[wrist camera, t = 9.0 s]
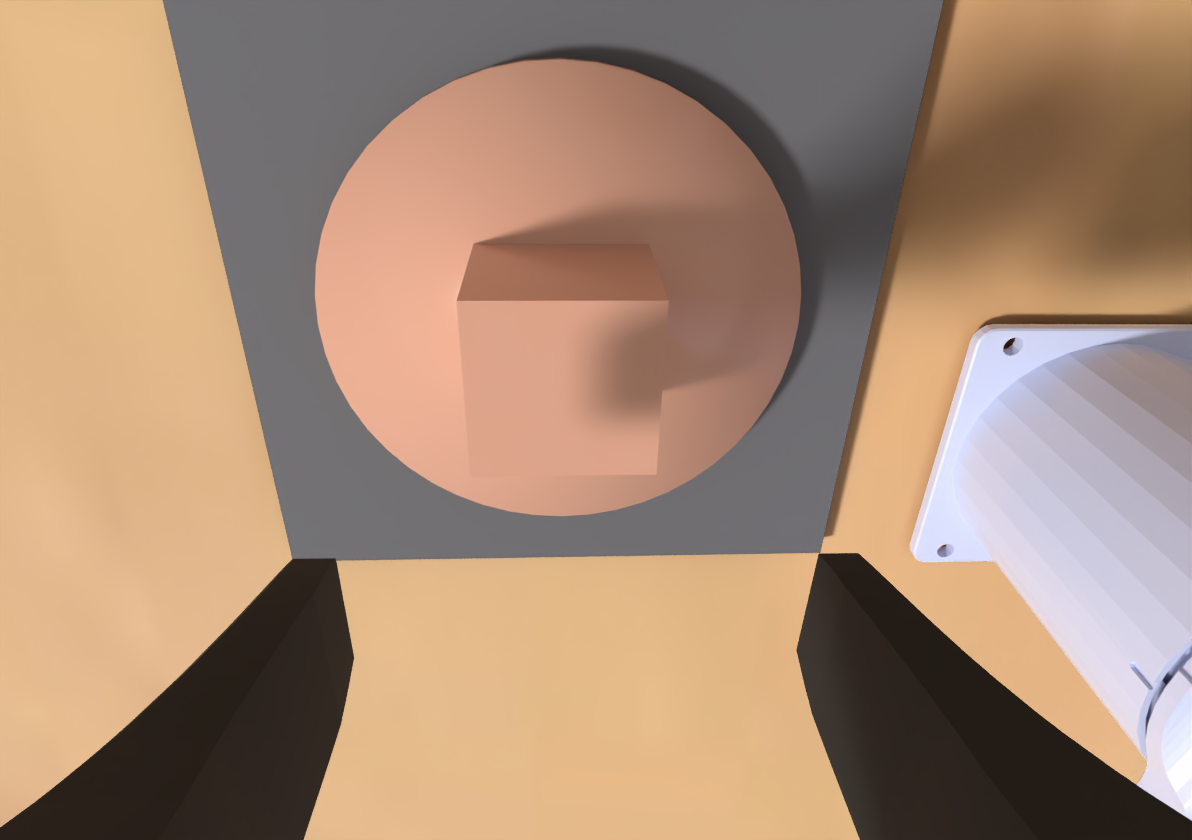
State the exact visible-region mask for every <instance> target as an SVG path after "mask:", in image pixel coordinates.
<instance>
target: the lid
mask: <svg viewBox="0 0 1192 840" xmlns="http://www.w3.org/2000/svg"><path fill="white" fill-rule="evenodd" d="M315 302H316V311H317V320H318V327H319V331H320V335H321V339H322V343H323V347H324V351H325V354H326V357H327V359H328V362H329V364H330V367H331V369H332V372H333V374H334V377H335V379H336V382H337V383H338V385H339V387H340V389H341V390H342V392H343V394H344V396H345V398H346V399H347V401H348V403H349V405H350V406H351V408H352V409H353V410H354V412H355V413H356V414H357V416H358V417H359V418H360V420H361V421H362V423H363V424H364V425H365V427H366V428H367V429H368V430H369V431H370V432H371V433H372V434H373V436H374V437H375V438H376V439H377V440H378V441H379V442H380V443H381V444H382V445H383V446H384V447H385V448H386V449H387V450H388V451H389V452H390V453H392V454H393V455H394V456H395V457H396V458H398V459H399V460H400V461H401V462H403V463H404V464H405V465H406V466H407V467H409V468H410V469H412V470H413V471H415V472H416V473H418V474H419V475H421V476H422V477H424V478H426V479H427V480H429V481H430V482H432V483H434V484H436V485H438V486H440V487H442V488H444V489H446V490H448V491H450V492H452V493H454V494H456V495H458V496H461V497H463V498H466V499H469V500H471V501H474V502H477V503H479V504H482V505H486V506H490V507H494V508H498V509H502V510H506V511H510V512H517V513H524V514H531V515H545V516H573V515H588V514H595V513H601V512H607V511H612V510H617V509H621V508H625V507H628V506H632V505H635V504H639V503H642V502H645V501H647V500H650V499H652V498H655V497H657V496H660V495H662V494H665V493H667V492H669V491H671V490H673V489H675V488H676V487H678V486H680V485H682V484H684V483H686V482H688V481H690V480H691V479H693V478H694V477H696V476H697V475H699V474H700V473H702V472H703V471H704V470H706V469H707V468H709V467H710V466H712V465H713V464H714V463H716V462H717V461H718V460H719V459H720V458H721V457H722V456H724V455H725V454H726V453H727V452H728V451H729V450H730V449H732V448H733V447H734V446H735V445H736V444H737V443H738V441H739V440H740V439H741V438H742V437H743V436H744V435H745V434H746V433H747V432H748V430H749V429H750V428H751V427H752V426H753V425H754V423H755V422H756V420H757V419H758V418H759V416H760V415H761V413H762V412H763V411H764V409H765V408H766V406H767V405H768V403H769V402H770V400H771V398H772V396H773V394H774V392H775V390H776V389H777V387H778V385H779V383H780V381H781V379H782V377H783V374H784V372H785V369H786V366H787V364H788V361H789V358H790V356H791V353H792V349H793V345H794V341H795V337H796V332H797V328H798V323H799V313H800V303H801V278H800V263H799V258H798V252H797V247H796V241H795V236H794V233H793V230H792V227H791V224H790V221H789V218H788V215H787V212H786V209H785V206H784V204H783V202H782V200H781V198H780V196H779V194H778V192H777V190H776V188H775V186H774V184H773V182H772V180H771V178H770V177H769V175H768V174H767V172H766V171H765V170H764V168H763V167H762V165H761V164H760V162H759V161H758V160H757V158H756V157H755V155H754V154H753V153H752V151H751V150H750V149H749V148H748V147H747V146H746V144H745V143H744V142H743V141H742V140H741V139H740V138H739V137H738V136H737V135H736V134H735V133H734V132H733V131H732V130H731V129H730V128H729V127H728V126H727V125H726V124H725V123H724V122H723V121H722V120H721V119H719V118H718V117H717V116H716V115H714V114H713V113H712V112H711V111H709V110H708V109H707V108H705V107H704V106H703V105H702V104H700V103H699V102H698V101H696V100H695V99H694V98H692V97H691V96H689V95H687V94H685V93H684V92H682V91H680V90H678V89H677V88H675V87H673V86H671V85H670V84H668V83H666V82H664V81H662V80H660V79H657V78H655V77H652V76H650V75H647V74H645V73H642V72H640V71H637V70H635V69H632V68H629V67H625V66H620V65H616V64H612V63H608V62H603V61H599V60H593V59H581V58H570V57H546V58H528V59H521V60H516V61H511V62H506V63H501V64H496V65H491V66H488V67H485V68H482V69H480V70H477V71H474V72H471V73H469V74H466V75H463V76H460V77H458V78H455V79H454V80H452V81H450V82H448V83H446V84H444V85H442V86H441V87H439V88H437V89H435V90H433V91H431V92H429V93H428V94H426V95H424V96H423V97H422V98H420V99H419V100H418V101H416V102H415V103H414V104H412V105H411V106H410V107H408V108H407V109H406V110H404V111H403V112H402V113H400V114H399V115H398V116H397V117H396V118H395V119H393V120H392V121H391V122H390V123H389V124H388V125H387V126H386V127H385V128H384V129H383V130H382V131H381V132H380V133H379V134H378V135H377V136H376V137H375V139H374V140H373V141H372V142H371V143H370V144H369V145H368V146H367V147H366V148H365V150H364V151H363V152H362V154H361V155H360V156H359V158H358V159H357V161H356V162H355V163H354V165H353V166H352V168H351V169H350V170H349V172H348V173H347V175H346V177H345V179H344V181H343V182H342V184H341V186H340V188H339V190H338V192H337V194H336V196H335V198H334V200H333V202H332V204H331V207H330V210H329V213H328V216H327V219H326V222H325V225H324V228H323V231H322V234H321V239H320V245H319V250H318V256H317V261H316V275H315Z"/></svg>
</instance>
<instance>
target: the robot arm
mask: <svg viewBox="0 0 1192 840" xmlns="http://www.w3.org/2000/svg"><path fill="white" fill-rule="evenodd" d="M1011 338H1015V341H1014V343H1013V344H1012V345H1011V346H1010V347H1009V348H1007V349H1003V346H1004V345H1005V343H1006V342H1007V341H1008V340H1010V339H1011ZM945 544H947V545H946V546H945V547H943V548H940V549H939V547H941V546H942V545H945ZM910 550H911V552H912V554H913V555H914V557H915V558H916V559H917V560H919V561H921V562H964V561H995V563H996V564H997V565H998V566H999V568H1000V569H1001V570H1002V572H1003V573H1004V574H1005V576H1006V577H1007V578H1008V580H1009V581H1010V582H1011V584H1012V585H1013V586H1014V587H1015V589H1016V590H1017V591H1018V593H1019V594H1020V595H1021V597H1022V598H1023V599H1024V601H1025V602H1026V603H1027V605H1028V606H1029V607H1030V609H1031V610H1032V611H1033V612H1034V614H1035V615H1036V616H1037V618H1038V619H1039V620H1040V622H1041V623H1042V624H1043V626H1044V627H1045V628H1046V630H1047V631H1048V632H1049V633H1050V635H1051V636H1052V637H1053V639H1054V640H1055V641H1056V643H1057V644H1058V645H1059V647H1060V648H1061V649H1062V651H1063V652H1064V653H1065V654H1066V656H1067V657H1068V658H1069V660H1070V661H1071V662H1072V664H1073V665H1074V666H1075V668H1076V669H1077V670H1078V672H1079V673H1080V674H1081V676H1082V677H1083V678H1084V679H1085V681H1086V682H1087V683H1088V685H1089V686H1090V687H1091V689H1092V690H1093V691H1094V693H1095V694H1096V695H1097V697H1098V698H1099V699H1100V700H1101V702H1102V703H1103V704H1104V706H1105V707H1106V708H1107V710H1108V711H1109V712H1110V714H1111V715H1112V716H1113V718H1114V719H1115V720H1116V721H1117V723H1118V724H1119V725H1120V727H1121V728H1122V729H1123V731H1124V732H1125V733H1126V735H1127V736H1128V737H1129V739H1130V740H1131V741H1132V742H1133V744H1134V745H1135V746H1136V748H1137V749H1138V750H1139V752H1140V753H1141V754H1142V756H1143V757H1144V758H1145V760H1146V761H1147V767H1146V770H1145V772H1144V774H1143V776H1142V777H1141V779H1140V780H1139V781H1138V783H1137V784H1134V783H1133V782H1131V781H1130V780H1129V779H1127V778H1126V777H1124V776H1123V775H1121V774H1120V773H1118V772H1117V771H1115V770H1114V769H1112V768H1111V767H1110V766H1108V765H1107V764H1106V763H1104V762H1103V761H1101V760H1100V759H1099V758H1097V757H1096V756H1094V755H1093V754H1092V753H1090V752H1089V751H1088V750H1086V749H1085V748H1083V747H1082V746H1081V745H1079V744H1078V743H1076V742H1075V741H1074V740H1072V739H1071V738H1070V737H1068V736H1067V735H1065V734H1064V733H1063V732H1061V731H1060V730H1059V729H1057V728H1056V727H1055V726H1054V725H1052V724H1051V723H1050V722H1048V721H1047V720H1046V719H1044V718H1043V717H1042V716H1041V715H1039V714H1038V713H1037V712H1035V711H1034V710H1033V709H1032V708H1031V707H1029V706H1028V705H1027V704H1026V703H1024V702H1023V701H1022V700H1021V699H1020V698H1018V697H1017V696H1016V695H1015V694H1013V693H1012V692H1011V691H1010V690H1009V689H1007V688H1006V687H1005V686H1004V685H1002V684H1001V683H1000V682H999V681H998V680H996V679H995V678H994V677H993V676H992V675H990V674H989V673H988V672H987V671H986V670H985V669H984V668H982V667H981V666H980V665H979V664H978V663H977V662H975V661H974V660H973V659H972V658H971V657H970V656H969V655H967V654H966V653H965V652H964V651H963V650H962V649H961V648H960V647H958V646H957V645H956V644H955V643H954V642H953V641H952V640H951V639H950V638H948V637H947V636H946V635H945V634H944V633H943V632H942V631H941V630H940V629H939V628H938V627H936V626H935V625H934V624H933V623H932V622H931V621H930V620H929V619H928V618H927V617H926V616H925V615H924V614H922V613H921V612H920V611H919V610H918V609H917V608H916V607H915V606H914V605H913V604H912V603H911V602H910V601H909V600H908V599H907V598H905V597H904V596H903V595H902V594H901V593H900V592H899V591H898V590H897V589H896V588H895V587H894V586H893V585H892V584H891V583H890V582H889V581H888V580H887V579H885V578H884V577H883V576H882V575H881V574H880V573H879V572H878V571H877V570H876V569H875V568H874V567H873V566H872V565H871V564H870V563H868V562H867V561H866V560H865V559H864V558H863V557H862V556H861V555H860V554H858V553H837V554H819V555H818V559H817V564H816V568H815V572H814V577H813V581H812V585H811V590H810V594H809V598H808V603H807V607H806V611H805V616H804V620H803V624H802V629H801V633H800V637H799V642H798V646H797V654H798V658H799V663H800V667H801V671H802V675H803V680H804V684H805V688H806V692H807V696H808V700H809V703H810V707H811V711H812V715H813V717H814V720H815V723H816V726H817V728H818V731H819V734H820V736H821V739H822V742H823V744H824V747H825V750H826V752H827V755H828V758H829V760H830V763H831V766H832V768H833V771H834V773H835V776H836V778H837V781H838V784H839V786H840V789H841V791H842V794H843V797H844V799H845V802H846V804H847V807H848V810H849V812H850V815H851V817H852V820H853V823H854V825H855V828H856V830H857V833H858V836H859V838H860V840H1192V324H991V325H986V326H984V327H982V328H980V329H979V330H978V331H977V332H976V333H975V334H974V335H973V337H972V339H971V341H970V344H969V348H968V351H967V354H966V358H965V361H964V364H963V368H962V371H961V374H960V378H959V381H958V384H957V388H956V391H955V394H954V398H953V401H952V405H951V408H950V411H949V415H948V418H947V421H946V425H945V428H944V431H943V435H942V438H941V441H940V445H939V448H938V451H937V455H936V458H935V461H934V465H933V468H932V472H931V475H930V478H929V482H928V485H927V488H926V492H925V495H924V498H923V502H922V505H921V508H920V512H919V515H918V518H917V522H916V525H915V529H914V532H913V535H912V539H911V542H910ZM353 660H354V655H353V649H352V644H351V639H350V633H349V628H348V622H347V617H346V612H345V606H344V601H343V595H342V590H341V585H340V579H339V574H338V568H337V563H336V558H310V559H292V560H291V561H290V562H289V563H288V564H287V565H286V566H285V567H284V568H283V569H282V570H281V571H280V572H279V573H278V574H277V576H276V577H275V578H274V579H273V580H272V581H271V582H270V583H269V584H268V585H267V586H266V587H265V588H264V590H263V591H262V592H261V593H260V594H259V595H258V596H257V597H256V598H255V599H254V600H253V601H252V602H251V604H250V605H249V606H248V607H247V608H246V609H245V610H244V611H243V612H242V613H241V614H240V615H239V616H238V617H237V618H236V619H235V621H234V622H233V623H232V624H231V625H230V626H229V627H228V628H227V629H226V630H225V631H224V632H223V633H222V634H221V635H220V636H219V637H218V638H217V639H216V640H215V641H214V642H213V643H212V644H211V645H210V646H209V647H208V648H207V649H206V650H205V651H204V652H203V653H202V654H201V655H200V656H199V658H198V659H197V660H196V661H195V662H194V663H193V664H192V665H191V666H190V667H189V668H188V669H187V670H186V671H185V672H184V673H183V674H182V675H181V676H180V677H179V678H177V679H176V680H175V681H174V682H173V683H172V684H171V685H170V686H169V687H168V688H167V689H166V690H165V691H164V692H163V693H162V694H160V695H159V696H158V697H157V698H156V699H155V700H154V701H153V702H152V703H151V704H150V705H149V706H148V707H147V708H145V709H144V710H143V711H142V712H141V713H140V714H139V715H138V716H137V717H136V718H135V719H134V720H133V721H132V722H130V723H129V724H128V725H127V726H126V727H125V728H124V729H123V730H122V731H120V732H119V733H118V734H117V735H116V736H115V737H114V738H112V739H111V740H110V741H109V742H108V743H107V744H106V745H104V746H103V747H102V748H101V749H100V750H99V751H97V752H96V753H95V754H94V755H93V756H92V757H90V758H89V759H88V760H87V761H86V762H84V763H83V764H82V765H81V766H80V767H78V768H77V769H76V770H75V771H73V772H72V773H71V774H70V775H68V776H67V777H66V778H65V779H64V780H62V781H61V782H60V783H59V784H57V785H56V786H55V787H54V788H53V789H51V790H50V791H49V792H47V793H46V794H45V795H44V796H42V797H41V798H40V799H38V800H37V801H36V802H35V803H33V804H32V805H30V806H29V807H28V808H26V809H25V810H24V811H22V812H21V813H20V814H18V815H17V816H15V817H14V818H13V819H11V820H10V821H9V822H7V823H6V824H4V825H3V826H2V827H0V840H303V839H304V836H305V833H306V830H307V827H308V824H309V821H310V818H311V815H312V812H313V809H314V806H315V803H316V800H317V797H318V794H319V791H320V788H321V785H322V782H323V779H324V775H325V772H326V769H327V766H328V763H329V760H330V757H331V754H332V751H333V748H334V744H335V741H336V738H337V735H338V732H339V728H340V725H341V721H342V716H343V712H344V707H345V702H346V697H347V692H348V687H349V682H350V676H351V671H352V666H353Z"/></svg>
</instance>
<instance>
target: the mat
mask: <svg viewBox="0 0 1192 840" xmlns="http://www.w3.org/2000/svg"><path fill="white" fill-rule="evenodd" d="M943 1H944V0H163V3H164V8H165V12H166V16H167V20H168V25H169V29H170V33H171V38H172V42H173V46H174V51H175V55H176V59H177V64H178V68H179V72H180V76H181V81H182V85H183V89H184V94H185V98H186V102H187V107H188V111H189V115H190V120H191V124H192V128H193V132H194V137H195V141H196V145H197V150H198V154H199V158H200V163H201V167H202V171H203V176H204V180H205V184H206V188H207V193H208V197H209V201H210V206H211V210H212V214H213V219H214V223H215V227H216V232H217V236H218V240H219V244H220V249H221V253H222V257H223V262H224V266H225V270H226V275H227V279H228V283H229V288H230V292H231V296H232V300H233V305H234V309H235V313H236V318H237V322H238V326H239V331H240V335H241V339H242V344H243V348H244V352H245V356H246V361H247V365H248V369H249V374H250V378H251V382H252V387H253V391H254V395H255V400H256V404H257V408H258V412H259V417H260V421H261V425H262V430H263V434H264V438H265V443H266V447H267V451H268V456H269V460H270V464H271V468H272V473H273V477H274V481H275V486H276V490H277V494H278V499H279V503H280V507H281V512H282V516H283V520H284V524H285V529H286V533H287V537H288V542H289V546H290V550H291V555H292V559H310V558H336V561H339V560H401V559H462V558H524V557H586V556H648V555H710V554H771V553H820V551H821V547H822V542H823V538H824V533H825V529H826V524H827V520H828V515H829V511H830V507H831V502H832V498H833V493H834V489H835V484H836V480H837V475H838V471H839V466H840V462H841V457H842V453H843V448H844V444H845V439H846V435H847V430H848V426H849V421H850V417H851V412H852V408H853V404H854V399H855V395H856V390H857V386H858V381H859V377H860V372H861V368H862V363H863V359H864V354H865V350H866V345H867V341H868V336H869V332H870V327H871V323H872V318H873V314H874V310H875V305H876V301H877V296H878V292H879V287H880V283H881V278H882V274H883V269H884V265H885V260H886V256H887V251H888V247H889V242H890V238H891V233H892V229H893V224H894V220H895V216H896V211H897V207H898V202H899V198H900V193H901V189H902V184H903V180H904V175H905V171H906V166H907V162H908V157H909V153H910V148H911V144H912V139H913V135H914V130H915V126H916V121H917V117H918V113H919V108H920V104H921V99H922V95H923V90H924V86H925V81H926V77H927V72H928V68H929V63H930V59H931V54H932V50H933V45H934V41H935V36H936V32H937V27H938V23H939V19H940V14H941V10H942V5H943ZM546 57H570V58H581V59H593V60H599V61H603V62H608V63H612V64H616V65H620V66H625V67H629V68H632V69H635V70H637V71H640V72H642V73H645V74H647V75H650V76H652V77H655V78H657V79H660V80H662V81H664V82H666V83H668V84H670V85H671V86H673V87H675V88H677V89H678V90H680V91H682V92H684V93H685V94H687V95H689V96H691V97H692V98H694V99H695V100H696V101H698V102H699V103H700V104H702V105H703V106H704V107H705V108H707V109H708V110H709V111H711V112H712V113H713V114H714V115H716V116H717V117H718V118H719V119H721V120H722V121H723V122H724V123H725V124H726V125H727V126H728V127H729V128H730V129H731V130H732V131H733V132H734V133H735V134H736V135H737V136H738V137H739V138H740V139H741V140H742V141H743V142H744V143H745V144H746V146H747V147H748V148H749V149H750V150H751V151H752V153H753V154H754V155H755V157H756V158H757V160H758V161H759V162H760V164H761V165H762V167H763V168H764V170H765V171H766V172H767V174H768V175H769V177H770V178H771V180H772V182H773V184H774V186H775V188H776V190H777V192H778V194H779V196H780V198H781V200H782V202H783V204H784V206H785V209H786V212H787V215H788V218H789V221H790V224H791V227H792V230H793V233H794V236H795V241H796V247H797V252H798V258H799V263H800V278H801V303H800V313H799V323H798V328H797V332H796V337H795V341H794V345H793V349H792V353H791V356H790V358H789V361H788V364H787V366H786V369H785V372H784V374H783V377H782V379H781V381H780V383H779V385H778V387H777V389H776V390H775V392H774V394H773V396H772V398H771V400H770V402H769V403H768V405H767V406H766V408H765V409H764V411H763V412H762V413H761V415H760V416H759V418H758V419H757V420H756V422H755V423H754V425H753V426H752V427H751V428H750V429H749V430H748V432H747V433H746V434H745V435H744V436H743V437H742V438H741V439H740V440H739V441H738V443H737V444H736V445H735V446H734V447H733V448H732V449H730V450H729V451H728V452H727V453H726V454H725V455H724V456H722V457H721V458H720V459H719V460H718V461H717V462H716V463H714V464H713V465H712V466H710V467H709V468H707V469H706V470H704V471H703V472H702V473H700V474H699V475H697V476H696V477H694V478H693V479H691V480H690V481H688V482H686V483H684V484H682V485H680V486H678V487H676V488H675V489H673V490H671V491H669V492H667V493H665V494H662V495H660V496H657V497H655V498H652V499H650V500H647V501H645V502H642V503H639V504H635V505H632V506H628V507H625V508H621V509H617V510H612V511H607V512H601V513H595V514H588V515H573V516H545V515H531V514H524V513H517V512H510V511H506V510H502V509H498V508H494V507H490V506H486V505H482V504H479V503H477V502H474V501H471V500H469V499H466V498H463V497H461V496H458V495H456V494H454V493H452V492H450V491H448V490H446V489H444V488H442V487H440V486H438V485H436V484H434V483H432V482H430V481H429V480H427V479H426V478H424V477H422V476H421V475H419V474H418V473H416V472H415V471H413V470H412V469H410V468H409V467H407V466H406V465H405V464H404V463H403V462H401V461H400V460H399V459H398V458H396V457H395V456H394V455H393V454H392V453H390V452H389V451H388V450H387V449H386V448H385V447H384V446H383V445H382V444H381V443H380V442H379V441H378V440H377V439H376V438H375V437H374V436H373V434H372V433H371V432H370V431H369V430H368V429H367V428H366V427H365V425H364V424H363V423H362V421H361V420H360V418H359V417H358V416H357V414H356V413H355V412H354V410H353V409H352V408H351V406H350V405H349V403H348V401H347V399H346V398H345V396H344V394H343V392H342V390H341V389H340V387H339V385H338V383H337V382H336V379H335V377H334V374H333V372H332V369H331V367H330V364H329V362H328V359H327V357H326V354H325V351H324V347H323V343H322V339H321V335H320V331H319V327H318V320H317V311H316V302H315V275H316V261H317V256H318V250H319V245H320V239H321V234H322V231H323V228H324V225H325V222H326V219H327V216H328V213H329V210H330V207H331V204H332V202H333V200H334V198H335V196H336V194H337V192H338V190H339V188H340V186H341V184H342V182H343V181H344V179H345V177H346V175H347V173H348V172H349V170H350V169H351V168H352V166H353V165H354V163H355V162H356V161H357V159H358V158H359V156H360V155H361V154H362V152H363V151H364V150H365V148H366V147H367V146H368V145H369V144H370V143H371V142H372V141H373V140H374V139H375V137H376V136H377V135H378V134H379V133H380V132H381V131H382V130H383V129H384V128H385V127H386V126H387V125H388V124H389V123H390V122H391V121H392V120H393V119H395V118H396V117H397V116H398V115H399V114H400V113H402V112H403V111H404V110H406V109H407V108H408V107H410V106H411V105H412V104H414V103H415V102H416V101H418V100H419V99H420V98H422V97H423V96H424V95H426V94H428V93H429V92H431V91H433V90H435V89H437V88H439V87H441V86H442V85H444V84H446V83H448V82H450V81H452V80H454V79H455V78H458V77H460V76H463V75H466V74H469V73H471V72H474V71H477V70H480V69H482V68H485V67H488V66H491V65H496V64H501V63H506V62H511V61H516V60H521V59H528V58H546Z"/></svg>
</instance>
